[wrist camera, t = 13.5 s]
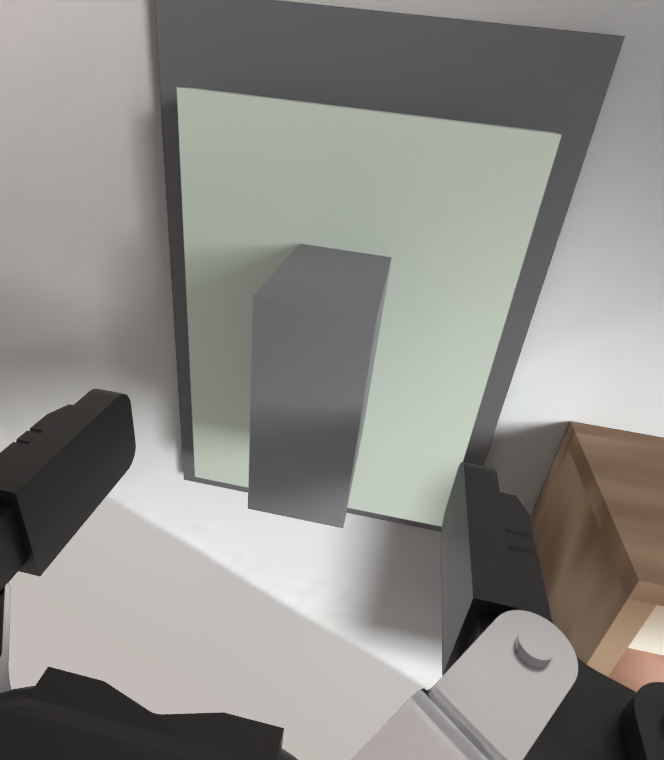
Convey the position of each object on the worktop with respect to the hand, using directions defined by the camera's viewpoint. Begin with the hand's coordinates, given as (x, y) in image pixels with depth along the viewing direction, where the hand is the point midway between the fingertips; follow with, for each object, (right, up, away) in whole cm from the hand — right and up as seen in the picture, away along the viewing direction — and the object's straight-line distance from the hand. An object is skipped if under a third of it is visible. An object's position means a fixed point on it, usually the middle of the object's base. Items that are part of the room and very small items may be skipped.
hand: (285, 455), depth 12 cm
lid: (+1, +4, +7) cm, 8 cm away
